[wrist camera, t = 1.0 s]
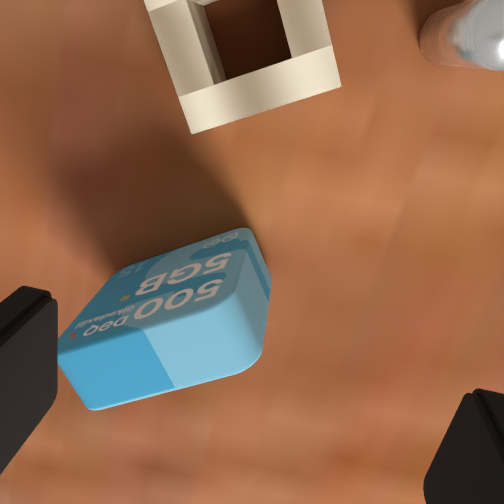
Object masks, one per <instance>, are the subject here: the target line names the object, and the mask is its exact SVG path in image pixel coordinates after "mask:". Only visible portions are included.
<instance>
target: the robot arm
mask: <svg viewBox="0 0 504 504" xmlns="http://www.w3.org/2000/svg"><path fill="white" fill-rule="evenodd" d="M57 360H58V305H57V301H56V300H55V299H52V297H51V294H50V292H49V291H46V290H41V289H37V288H33V287H28V286H22V287H20V288H18V289H17V290H16V291H15V292H13V293H12V294H11V295H10V296H8V297H7V298H6V299H5V300H3V301H2V302H1V303H0V474H1V473H2V472H3V470H4V469H5V468H6V466H7V465H8V464H9V462H10V461H11V460H12V458H13V457H14V456H15V454H16V453H17V452H18V450H19V449H20V448H21V446H22V445H23V444H24V442H25V441H26V440H27V438H28V437H29V436H30V434H31V433H32V432H33V430H34V429H35V428H36V426H37V425H38V424H39V422H40V421H41V419H42V418H43V417H44V415H45V414H46V413H47V411H48V410H49V409H50V407H51V406H52V404H53V403H54V400H55V398H56V395H57ZM423 489H424V497H425V501H426V504H504V394H502V393H497V392H493V391H488V390H484V389H476V390H474V391H473V393H472V394H471V393H466V394H465V395H464V397H463V399H462V401H461V403H460V405H459V407H458V409H457V411H456V413H455V415H454V417H453V419H452V422H451V424H450V426H449V428H448V430H447V432H446V434H445V436H444V438H443V440H442V442H441V444H440V447H439V449H438V451H437V453H436V455H435V457H434V459H433V461H432V463H431V465H430V467H429V470H428V472H427V474H426V476H425V479H424V486H423Z"/></svg>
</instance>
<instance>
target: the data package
mask: <svg viewBox="0 0 504 504" xmlns="http://www.w3.org/2000/svg"><path fill="white" fill-rule="evenodd" d="M271 284H272V278H271V276H270V273H269V271H268V268H267V266H266V264H265V261H264V259H263V256H262V254H261V252H260V249H259V247H258V244H257V242H256V240H255V237H254V235H253V233H252V231H251V229H249V228H238V229H234V230H231V231H228V232H225V233H222V234H219V235H216V236H214V237H211V238H208V239H205V240H202V241H199V242H196V243H193V244H190V245H187V246H184V247H181V248H179V249H176V250H173V251H170V252H167V253H164V254H161V255H158V256H155V257H152V258H149V259H146V260H144V261H141V262H138V263H135V264H132V265H129V266H127V267H125V268H123V269H121V270H120V271H118V272H117V273H115V274H114V275H113V276H112V277H111V278H110V279H109V280H108V281H107V282H106V283H105V285H104V286H103V287H102V288H101V289H100V290H99V292H98V293H97V294H96V295H95V296H94V297H93V299H92V300H91V301H90V302H89V303H88V305H87V306H86V307H85V308H84V309H83V310H82V312H81V313H80V314H79V315H78V316H77V317H76V319H75V320H74V321H73V322H72V323H71V324H70V326H69V327H68V328H67V329H66V330H65V331H64V333H63V334H62V335H61V336H60V337H59V338H58V360H57V363H58V364H59V366H60V367H61V369H62V370H63V372H64V374H65V375H66V377H67V378H68V380H69V381H70V383H71V384H72V386H73V387H74V389H75V391H76V392H77V394H78V395H79V397H80V398H81V400H82V401H83V403H84V404H85V406H86V407H87V408H88V409H90V410H101V409H105V408H109V407H113V406H117V405H120V404H124V403H128V402H132V401H136V400H139V399H143V398H147V397H151V396H155V395H158V394H162V393H166V392H170V391H174V390H177V389H181V388H185V387H189V386H193V385H197V384H200V383H204V382H208V381H212V380H216V379H219V378H223V377H227V376H231V375H234V374H237V373H240V372H242V371H244V370H246V369H247V368H249V367H250V366H252V365H253V364H254V363H255V362H256V361H257V360H258V358H259V357H260V355H261V353H262V350H263V343H264V335H265V328H266V321H267V313H268V306H269V299H270V291H271Z"/></svg>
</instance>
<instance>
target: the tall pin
mask: <svg viewBox="0 0 504 504" xmlns="http://www.w3.org/2000/svg"><path fill="white" fill-rule="evenodd" d="M419 47H420V50H421V53H422V55H423V56H424V57H425V58H426V59H427V60H428V61H430V62H431V63H434V64H438V65H447V66H458V67H468V68H479V69H490V70H500V71H504V0H469V1H466V2H463V3H459V4H456V5H453V6H450V7H446V8H443V9H440V10H438V11H436V12H434V13H433V14H432V15H431V16H430V17H428V19H427V20H426V21H425V22H424V24H423V26H422V28H421V30H420V34H419Z"/></svg>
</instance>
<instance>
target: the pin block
mask: <svg viewBox="0 0 504 504" xmlns="http://www.w3.org/2000/svg"><path fill="white" fill-rule="evenodd" d="M215 1H218V0H144V2H145V5H146V8H147V11H148V14H149V16H150V19H151V22H152V25H153V28H154V30H155V33H156V36H157V39H158V42H159V44H160V47H161V50H162V53H163V56H164V58H165V61H166V64H167V67H168V69H169V72H170V75H171V78H172V81H173V83H174V86H175V89H176V92H177V95H178V97H179V100H180V103H181V106H182V109H183V111H184V114H185V117H186V120H187V123H188V125H189V128H190V131H191V134H194V133H198V132H201V131H204V130H207V129H210V128H213V127H216V126H219V125H223V124H226V123H229V122H232V121H235V120H238V119H241V118H244V117H248V116H251V115H254V114H257V113H260V112H263V111H266V110H270V109H273V108H276V107H279V106H282V105H285V104H288V103H291V102H295V101H298V100H301V99H304V98H307V97H310V96H313V95H316V94H320V93H323V92H326V91H329V90H332V89H335V88H338V87H341V82H340V78H339V73H338V69H337V65H336V61H335V56H334V52H333V48H332V43H331V39H330V35H329V30H328V26H327V22H326V17H325V13H324V9H323V4H322V0H277V2H278V6H279V10H280V14H281V18H282V21H283V25H284V29H285V33H286V37H287V40H288V44H289V48H290V52H291V56H292V58H291V59H288V60H285V61H282V62H279V63H276V64H273V65H270V66H267V67H264V68H261V69H258V70H255V71H253V72H250V73H247V74H244V75H241V76H238V77H235V78H232V79H229V80H227V78H226V75H225V72H224V69H223V66H222V62H221V59H220V56H219V53H218V50H217V47H216V43H215V40H214V37H213V34H212V31H211V28H210V24H209V21H208V18H207V15H206V12H205V9H204V6H205V5H208V4H210V3H213V2H215Z"/></svg>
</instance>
